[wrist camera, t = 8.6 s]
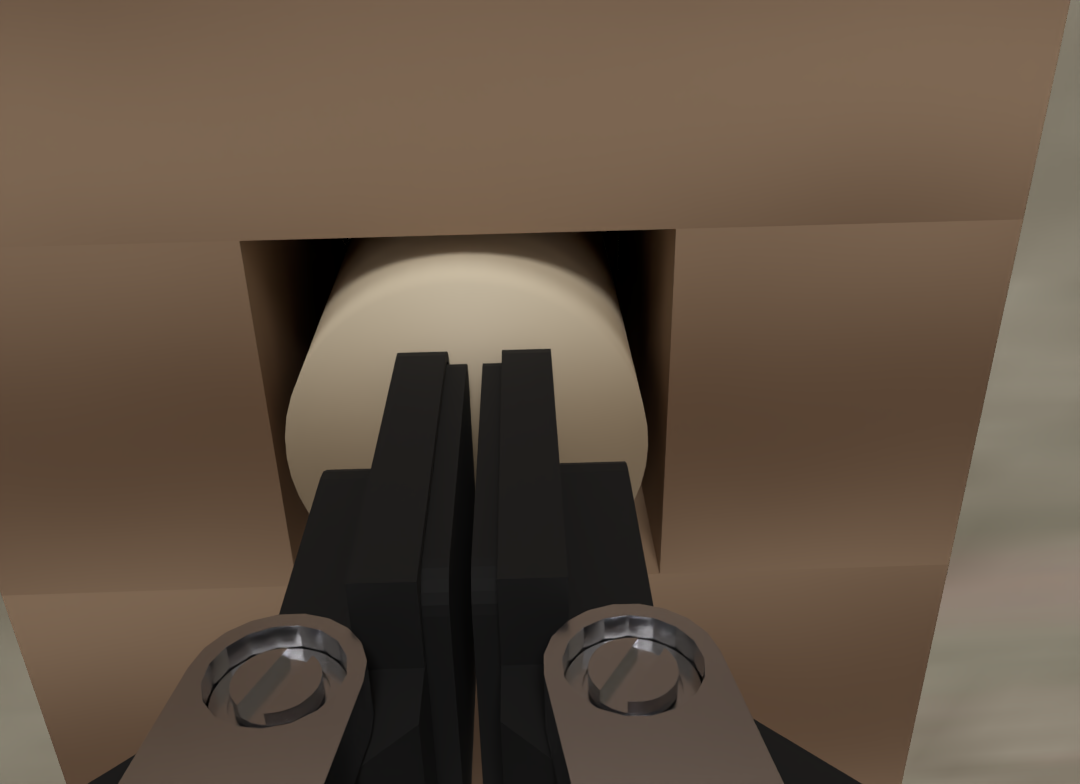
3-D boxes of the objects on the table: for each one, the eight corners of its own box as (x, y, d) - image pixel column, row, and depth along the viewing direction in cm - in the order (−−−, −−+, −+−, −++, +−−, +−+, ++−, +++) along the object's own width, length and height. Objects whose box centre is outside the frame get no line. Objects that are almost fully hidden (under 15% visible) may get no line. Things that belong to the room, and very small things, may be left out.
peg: (340, 139, 15) (260, 290, 10) (605, 132, 16) (654, 277, 10) (366, 374, 17) (309, 599, 12) (602, 367, 17) (642, 588, 12)
